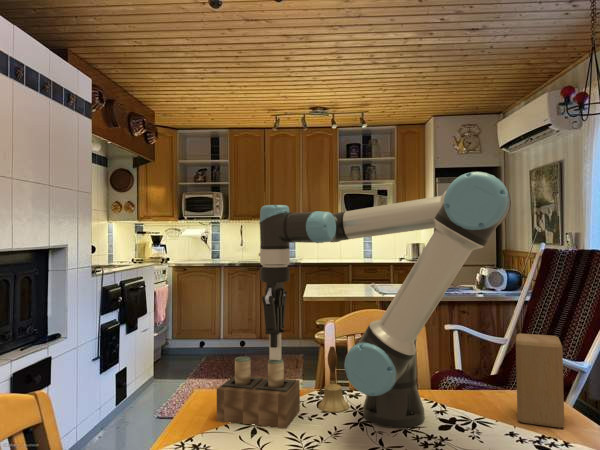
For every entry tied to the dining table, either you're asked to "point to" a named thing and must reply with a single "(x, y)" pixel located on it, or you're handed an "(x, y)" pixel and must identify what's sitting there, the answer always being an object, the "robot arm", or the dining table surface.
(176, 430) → the dining table surface
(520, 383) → the block
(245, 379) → the peg
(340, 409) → the hand bell
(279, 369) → the peg
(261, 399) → the socket block
